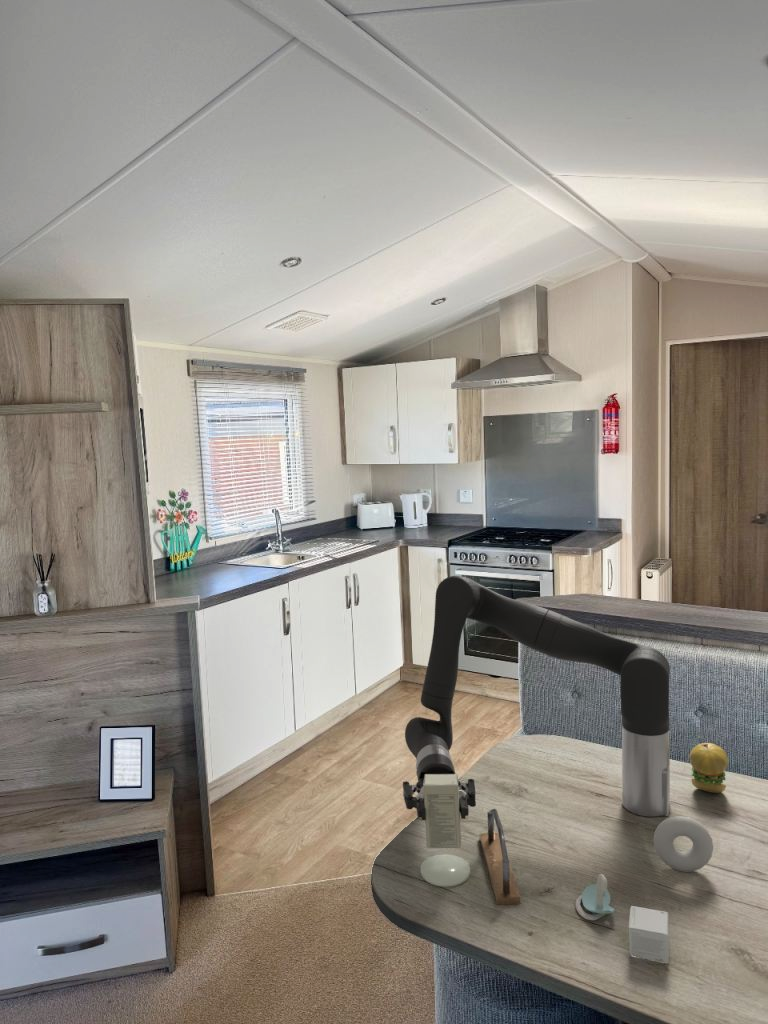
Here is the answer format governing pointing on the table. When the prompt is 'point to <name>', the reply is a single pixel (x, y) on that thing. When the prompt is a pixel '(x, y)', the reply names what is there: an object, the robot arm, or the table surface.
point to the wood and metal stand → (499, 862)
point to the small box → (649, 934)
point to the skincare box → (442, 811)
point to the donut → (683, 859)
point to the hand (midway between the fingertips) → (443, 814)
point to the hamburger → (708, 767)
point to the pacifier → (595, 900)
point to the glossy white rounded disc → (445, 870)
